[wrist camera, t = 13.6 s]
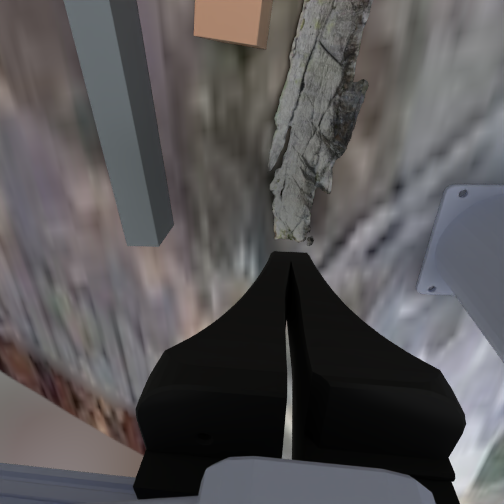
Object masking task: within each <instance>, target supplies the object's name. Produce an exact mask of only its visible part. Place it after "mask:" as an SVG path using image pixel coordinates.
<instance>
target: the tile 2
mask: <svg viewBox="0 0 504 504" xmlns="http://www.w3.org/2000/svg"><path fill="white" fill-rule="evenodd" d="M272 3H273V0H195V17H194V36H198V37H201V38H205V39H209V40H213V41H217V42H222V43H228V44H235V45H241V46H247V47H253V48H259V49H266V47H267V40H268V32H269V25H270V18H271V10H272Z"/></svg>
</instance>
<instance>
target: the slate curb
mask: <svg viewBox="0 0 504 504" xmlns="http://www.w3.org/2000/svg"><path fill="white" fill-rule="evenodd" d="M64 3H65V7H66V11H67V15H68V19H69V23H70V27H71V30H72V34H73V38H74V42H75V46H76V50H77V54H78V58H79V61H80V65H81V69H82V73H83V77H84V81H85V85H86V88H87V92H88V96H89V100H90V104H91V108H92V112H93V115H94V119H95V123H96V127H97V131H98V135H99V139H100V142H101V146H102V150H103V154H104V158H105V162H106V166H107V169H108V173H109V177H110V181H111V185H112V189H113V193H114V197H115V200H116V204H117V208H118V212H119V216H120V220H121V224H122V227H123V231H124V235H125V239H126V243H127V246H155V247H159V246H160V244H161V243H162V241H163V240H164V238H165V237H166V236H167V234H168V233H169V231H170V230H171V228H172V227H173V225H174V223H173V217H172V211H171V205H170V199H169V193H168V187H167V181H166V175H165V169H164V163H163V157H162V151H161V145H160V139H159V133H158V127H157V121H156V116H155V110H154V104H153V98H152V92H151V86H150V80H149V74H148V68H147V62H146V56H145V50H144V44H143V38H142V32H141V26H140V20H139V14H138V8H137V2H136V0H64Z"/></svg>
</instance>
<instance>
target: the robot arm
mask: <svg viewBox="0 0 504 504" xmlns="http://www.w3.org/2000/svg"><path fill="white" fill-rule="evenodd" d="M462 190H466V193H465V195H463V196H459V192H460V191H462ZM431 286H435V287H434V289H432V290H429V287H431ZM416 289H417V291H418V293H420V294H434V295H455V296H456V297H457V299H458V300H459V301H460V303H461V304H462V306H463V307H464V308H465V310H466V311H467V312H468V314H469V315H470V317H471V318H472V319H473V321H474V322H475V324H476V325H477V326H478V328H479V329H480V331H481V332H482V333H483V335H484V336H485V338H486V339H487V340H488V342H489V343H490V345H491V346H492V347H493V349H494V350H495V351H496V353H497V354H498V356H499V357H500V358H501V360H502V361H503V363H504V184H452V185H450V186H448V187H447V188H446V189H445V190H444V192H443V196H442V199H441V202H440V206H439V209H438V213H437V216H436V220H435V223H434V226H433V230H432V233H431V237H430V240H429V244H428V247H427V250H426V254H425V257H424V261H423V264H422V267H421V271H420V274H419V278H418V281H417V285H416ZM286 320H287V326H288V336H289V347H290V357H291V367H292V460H289V459H282V450H283V438H284V426H285V415H286V403H287V361H286V336H285V329H286ZM136 418H137V421H138V425H139V428H140V431H141V434H142V437H143V440H144V444H145V447H146V451H145V454H144V457H143V460H142V462H141V465H140V468H139V471H138V473H137V476H136V478H134V477H125V476H116V475H107V474H98V473H89V472H79V471H71V470H62V469H52V468H43V467H33V466H24V465H16V464H7V463H0V504H460V503H459V500H458V497H457V495H456V492H455V490H454V487H453V485H452V482H453V481H454V480H455V473H454V470H453V468H452V465H451V463H450V460H449V458H448V457H449V456H450V454H451V452H452V451H453V449H454V447H455V446H456V444H457V442H458V441H459V439H460V437H461V435H462V434H463V431H464V428H465V425H466V420H465V414H464V412H463V410H462V408H461V406H460V404H459V402H458V400H457V398H456V396H455V394H454V392H453V390H452V389H451V387H450V385H449V384H448V382H447V381H446V379H445V378H444V376H443V374H442V373H441V371H440V370H439V369H437V368H435V367H433V366H431V365H429V364H428V363H426V362H424V361H422V360H420V359H419V358H417V357H415V356H413V355H411V354H410V353H408V352H406V351H405V350H403V349H401V348H400V347H398V346H397V345H395V344H394V343H392V342H391V341H389V340H388V339H386V338H385V337H383V336H382V335H380V334H379V333H378V332H376V331H375V330H374V329H373V328H371V327H370V326H369V325H367V324H366V323H365V322H364V321H362V320H361V319H360V318H359V317H358V316H357V315H356V314H354V313H353V312H352V311H351V310H350V309H349V308H348V307H347V306H346V305H345V304H344V303H343V302H342V301H341V299H340V298H339V297H338V296H337V295H336V294H335V293H334V291H333V290H332V289H331V288H330V286H329V285H328V284H327V282H326V281H325V280H324V278H323V277H322V276H321V274H320V273H319V271H318V270H317V268H316V266H315V265H314V263H313V261H312V260H311V258H310V256H309V255H308V254H307V253H300V252H278V251H274V252H272V253H271V255H270V258H269V260H268V262H267V264H266V265H265V267H264V269H263V270H262V272H261V273H260V275H259V276H258V278H257V279H256V281H255V282H254V283H253V285H252V286H251V287H250V288H249V290H248V291H247V292H246V293H245V294H244V295H243V297H242V298H241V299H240V300H239V301H238V302H237V303H236V304H235V305H234V306H233V307H232V308H231V309H229V310H228V311H227V312H226V313H225V314H224V315H222V316H221V317H220V318H219V319H218V320H216V321H215V322H214V323H212V324H211V325H209V326H208V327H206V328H205V329H203V330H202V331H200V332H199V333H197V334H196V335H194V336H192V337H191V338H189V339H187V340H185V341H183V342H181V343H179V344H177V345H175V346H173V347H171V348H169V349H167V350H165V351H164V353H163V354H162V356H161V358H160V359H159V361H158V362H157V364H156V366H155V367H154V369H153V371H152V372H151V374H150V376H149V378H148V380H147V382H146V385H145V387H144V389H143V392H142V394H141V397H140V399H139V401H138V404H137V407H136ZM451 481H452V482H451Z"/></svg>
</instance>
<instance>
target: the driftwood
mask: <svg viewBox="0 0 504 504" xmlns="http://www.w3.org/2000/svg"><path fill="white" fill-rule="evenodd" d="M372 1H373V0H304V4H303V11H302V13H301V14H300V20H299V23H298V28H297V36H296V37H295V38H294V42H293V44H292V51H291V53H290V56H289V58H290V62H291V67H290V70H289V72H288V75H287V80H286V83H285V85H284V88H283V91H282V94H281V97H280V99H279V101H280V104H279V106H278V110H277V113H276V116H275V118H274V119H275V124H276V126H277V129H276V131H275V134H274V136H273V143H272V146H271V150H270V156H269V163H268V168H269V171H271V170H272V168H273V167H274V165H275V164H276V162H277V159H278V157H279V154H280V152H281V150H282V149H283V146H284V143H285V137H286V134H287V130H288V129H289V126H291V127H292V129H291V132H290V140H289V143H288V147H287V151H286V152H285V154H284V156H283V165H282V166H281V168H278V169H276V170H275V177H274V180H273V181H272V182H271V184H270V190H271V191H272V190H274V191H272V193H273V194H274V195H275V199H274V201H273V205H272V208H273V210H272V212H273V213H274V217H275V218H274V232H275V237H274V239H279V238H281V239H290V240H292V238H294V240H295V241H296V242H298V243H299V242H302V241H305V240H306V234H307V232H308V231H309V232H310V228H311V227H310V217H311V213H310V210H311V207H312V205H313V198H314V193H315V189H316V188H317V187H320V188H321V190H322V191H324V192H325V193H327V194H330V192H331V187H332V167H333V165H334V163H335V160H337V158H339V157H340V156H342V155H343V153H344V152H345V150H346V149H347V145H348V142H349V141H350V139H351V136H352V131H353V130H354V127H355V123H356V119H357V115H358V114H359V111H360V108H361V104H362V103H363V101H364V98H365V93H366V91H367V88H368V82H367V81H366V80H364V79H363V80H360V81H358V82H353V78H354V74H355V66H356V59H357V56H358V53H359V49H360V44H361V38H362V33H363V28H364V26H365V25H366V22H367V19H368V16H369V13H370V8H371V4H372ZM284 180H285V187H284V186H283V184H284ZM283 188H284V190H283V192H282V197H281V196H280V193H281V190H282V189H283ZM281 198H282V202H281ZM313 241H314V240H313V237H312V236H311V237H308V238H307V245H308V246H310V245H312V244H313Z"/></svg>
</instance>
